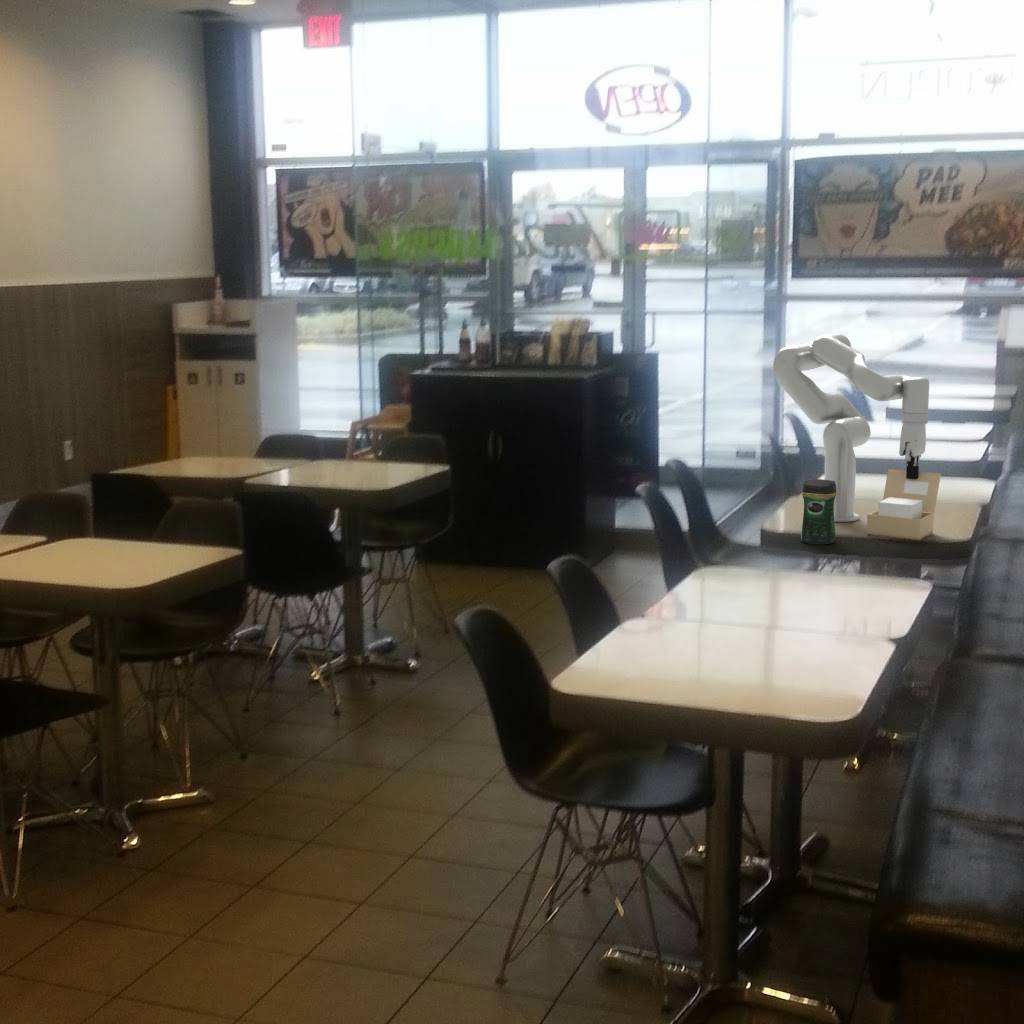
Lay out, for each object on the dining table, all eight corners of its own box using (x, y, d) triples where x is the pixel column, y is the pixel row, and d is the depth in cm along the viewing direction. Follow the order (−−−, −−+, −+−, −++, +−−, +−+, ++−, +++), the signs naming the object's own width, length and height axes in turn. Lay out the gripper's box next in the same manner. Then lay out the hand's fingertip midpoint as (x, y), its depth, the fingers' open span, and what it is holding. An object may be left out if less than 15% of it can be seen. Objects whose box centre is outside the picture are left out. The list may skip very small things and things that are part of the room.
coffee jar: (837, 541, 391) (840, 478, 388) (830, 546, 384) (832, 482, 381) (805, 538, 396) (807, 476, 392) (797, 543, 389) (799, 480, 385)
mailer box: (866, 534, 400) (868, 501, 398) (880, 527, 410) (882, 495, 408) (919, 540, 391) (921, 506, 389) (932, 533, 400) (934, 500, 399)
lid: (888, 468, 409) (888, 469, 410) (881, 507, 408) (882, 507, 409) (940, 473, 400) (940, 473, 401) (933, 512, 399) (934, 512, 400)
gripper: (911, 414, 408) (908, 474, 412) (893, 420, 397) (891, 481, 400) (935, 416, 404) (933, 476, 407) (918, 421, 392) (915, 483, 396)
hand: (912, 478), depth 404 cm, fingers closed
